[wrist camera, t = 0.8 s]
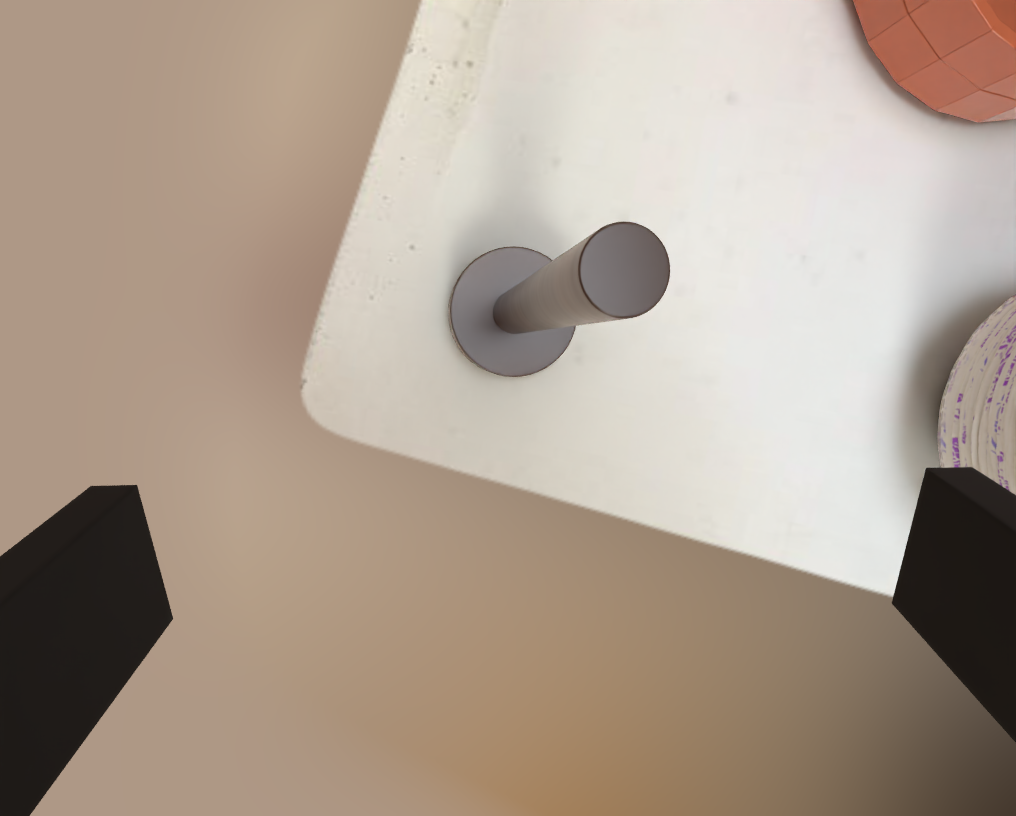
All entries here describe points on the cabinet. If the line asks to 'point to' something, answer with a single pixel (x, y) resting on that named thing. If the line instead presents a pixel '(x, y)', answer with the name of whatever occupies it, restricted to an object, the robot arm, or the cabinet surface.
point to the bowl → (948, 52)
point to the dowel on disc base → (553, 296)
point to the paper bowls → (983, 402)
